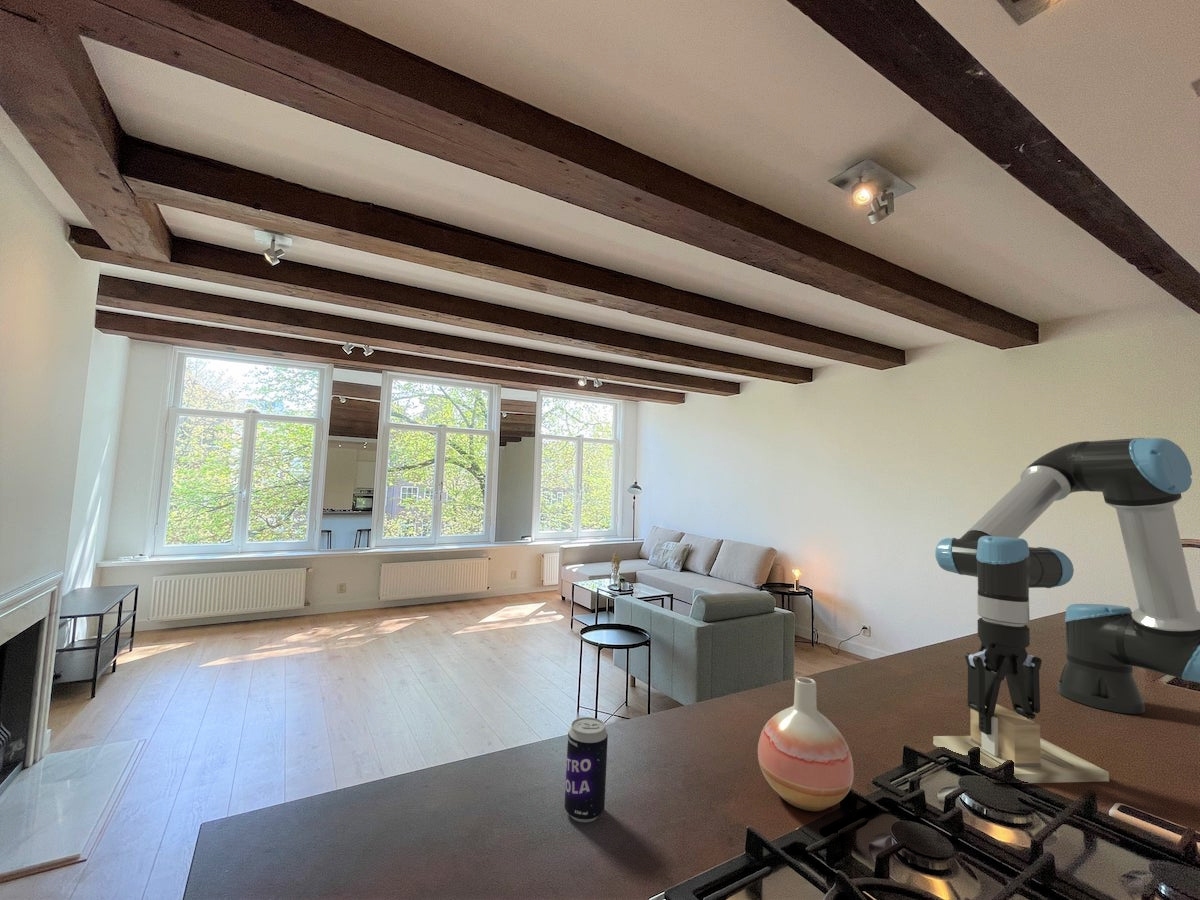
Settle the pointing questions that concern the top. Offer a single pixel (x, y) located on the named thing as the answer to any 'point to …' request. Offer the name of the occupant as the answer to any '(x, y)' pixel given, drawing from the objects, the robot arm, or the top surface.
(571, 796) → the beverage can
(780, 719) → the vase
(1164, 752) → the top surface
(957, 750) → the board
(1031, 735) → the block
